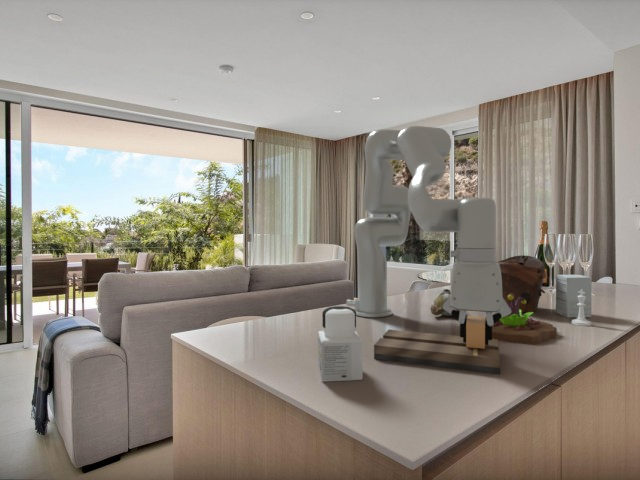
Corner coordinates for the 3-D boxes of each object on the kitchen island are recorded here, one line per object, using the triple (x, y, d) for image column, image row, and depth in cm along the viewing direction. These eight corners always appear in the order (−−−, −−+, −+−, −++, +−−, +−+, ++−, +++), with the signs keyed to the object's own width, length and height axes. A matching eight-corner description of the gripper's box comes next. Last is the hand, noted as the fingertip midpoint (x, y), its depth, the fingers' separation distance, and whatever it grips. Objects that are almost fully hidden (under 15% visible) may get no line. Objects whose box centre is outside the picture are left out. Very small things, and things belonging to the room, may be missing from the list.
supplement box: (578, 312, 129) (579, 274, 129) (592, 318, 122) (592, 277, 121) (554, 312, 130) (555, 274, 129) (566, 317, 122) (567, 277, 122)
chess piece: (585, 326, 111) (585, 291, 111) (567, 323, 116) (567, 289, 115) (595, 324, 114) (595, 290, 113) (577, 321, 118) (577, 287, 118)
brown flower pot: (496, 314, 127) (496, 259, 127) (481, 302, 147) (481, 254, 146) (556, 316, 124) (557, 259, 124) (533, 304, 144) (533, 254, 143)
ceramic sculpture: (460, 284, 134) (467, 295, 119) (460, 310, 134) (467, 323, 120) (428, 284, 136) (431, 294, 121) (428, 309, 137) (431, 322, 122)
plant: (460, 334, 106) (460, 293, 106) (487, 321, 120) (487, 284, 120) (544, 349, 92) (544, 302, 92) (563, 332, 107) (563, 291, 106)
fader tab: (466, 356, 83) (466, 322, 82) (467, 348, 88) (467, 316, 88) (484, 358, 81) (485, 323, 81) (484, 350, 87) (485, 317, 87)
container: (318, 367, 81) (317, 304, 81) (355, 366, 82) (355, 303, 81) (321, 382, 73) (321, 312, 73) (362, 380, 74) (362, 311, 74)
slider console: (374, 358, 86) (374, 344, 86) (388, 341, 99) (388, 328, 99) (500, 374, 77) (500, 357, 76) (498, 352, 89) (498, 338, 89)
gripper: (433, 257, 84) (433, 342, 84) (521, 258, 77) (520, 351, 78) (437, 254, 91) (437, 333, 91) (518, 256, 84) (517, 341, 85)
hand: (475, 341), depth 85 cm, fingers closed on fader tab, 3 cm apart
